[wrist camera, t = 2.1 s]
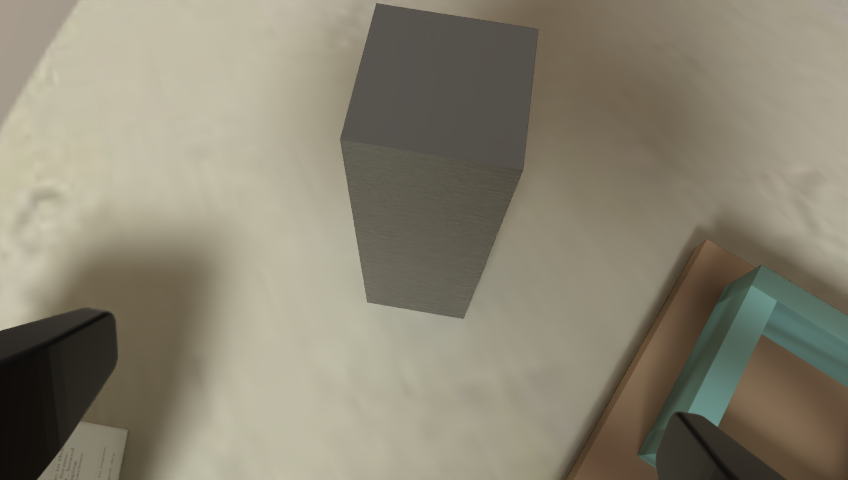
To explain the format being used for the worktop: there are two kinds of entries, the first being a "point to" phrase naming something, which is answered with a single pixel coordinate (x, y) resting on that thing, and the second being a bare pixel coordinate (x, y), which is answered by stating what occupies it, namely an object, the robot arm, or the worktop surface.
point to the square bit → (434, 151)
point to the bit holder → (733, 375)
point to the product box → (89, 454)
